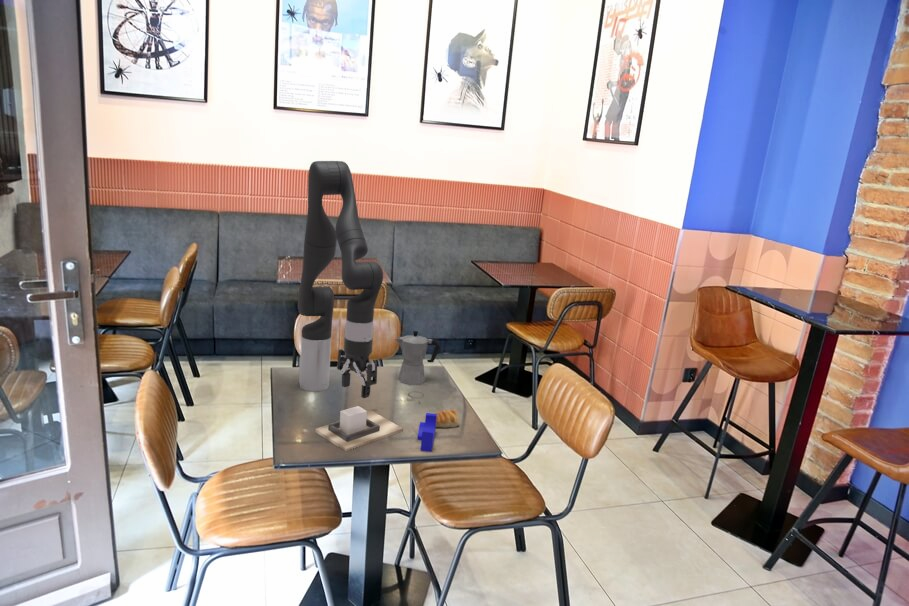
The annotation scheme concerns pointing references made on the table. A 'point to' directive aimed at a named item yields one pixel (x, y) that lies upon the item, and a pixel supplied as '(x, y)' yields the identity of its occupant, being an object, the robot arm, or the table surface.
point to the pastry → (447, 418)
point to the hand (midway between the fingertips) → (355, 391)
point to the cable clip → (427, 432)
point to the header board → (359, 432)
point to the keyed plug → (353, 420)
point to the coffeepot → (415, 357)
